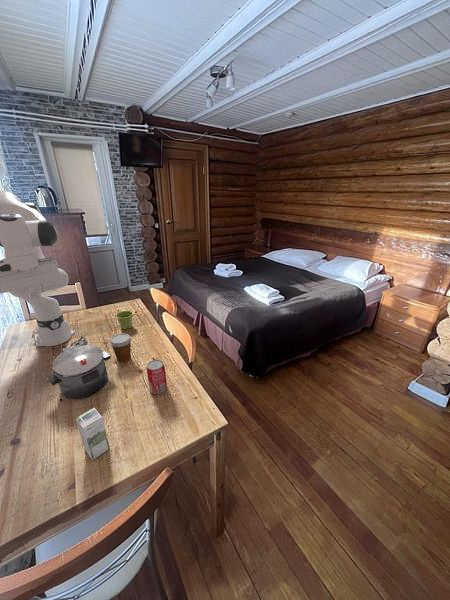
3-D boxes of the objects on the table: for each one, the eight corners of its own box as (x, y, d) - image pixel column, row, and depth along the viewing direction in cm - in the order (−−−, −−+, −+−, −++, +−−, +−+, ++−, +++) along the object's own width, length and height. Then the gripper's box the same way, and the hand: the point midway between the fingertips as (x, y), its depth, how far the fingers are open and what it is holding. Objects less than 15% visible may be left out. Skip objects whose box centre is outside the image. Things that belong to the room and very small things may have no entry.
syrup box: (102, 438, 86) (93, 406, 81) (110, 449, 83) (102, 416, 77) (84, 450, 83) (74, 417, 77) (92, 462, 79) (82, 428, 73)
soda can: (170, 387, 109) (168, 362, 103) (158, 398, 103) (155, 372, 98) (158, 381, 112) (155, 356, 107) (145, 391, 106) (142, 366, 101)
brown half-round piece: (79, 369, 119) (74, 351, 115) (67, 367, 120) (62, 349, 116) (96, 353, 130) (92, 336, 126) (85, 352, 131) (81, 335, 127)
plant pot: (114, 329, 152) (112, 316, 148) (124, 322, 160) (122, 309, 157) (128, 332, 150) (126, 318, 146) (137, 324, 158) (136, 311, 154)
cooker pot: (48, 387, 108) (41, 366, 103) (102, 362, 123) (97, 343, 119) (65, 412, 96) (58, 390, 92) (122, 381, 112) (118, 360, 107)
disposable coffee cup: (125, 366, 121) (121, 345, 116) (109, 362, 124) (104, 341, 119) (138, 355, 129) (135, 334, 124) (122, 351, 132) (118, 331, 127)
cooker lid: (45, 360, 106) (43, 353, 104) (90, 342, 118) (88, 335, 116) (64, 384, 94) (61, 376, 92) (111, 361, 106) (110, 354, 105)
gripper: (52, 255, 101) (61, 287, 106) (-15, 265, 87) (-1, 302, 92) (58, 257, 97) (67, 291, 103) (-12, 269, 83) (3, 308, 89)
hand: (34, 297), depth 97 cm, fingers closed
